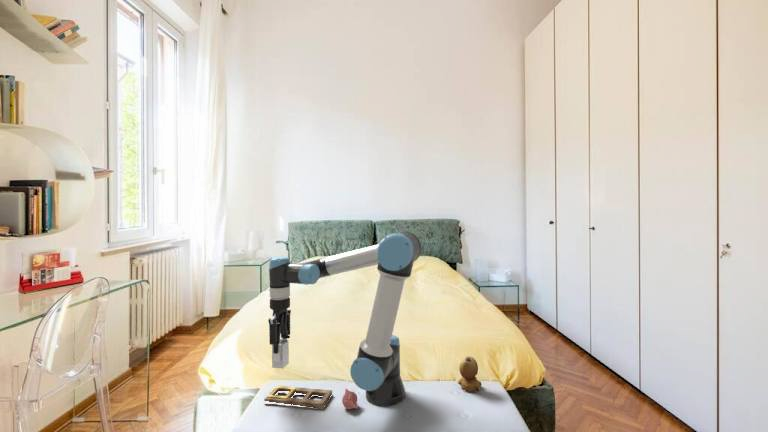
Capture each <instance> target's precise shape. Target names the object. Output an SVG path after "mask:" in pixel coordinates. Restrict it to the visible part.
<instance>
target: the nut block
mask: <svg viewBox="0 0 768 432" xmlns="http://www.w3.org/2000/svg"><path fill="white" fill-rule="evenodd" d="M279 344H281V361H280V362H277V361H273V345H271V354H272V355H271V359H272V361H271V362H272V363H271V364H272V365H271V368H274V369H283V370H284V369H285V368H286V367H287V366H288V365H289V364H290V362H289V361H290V360H289V359H290V358H289V355H290V354H289V348H290V347H289V345H290V344H289V340H288V339H287V340H280V343H279Z"/></svg>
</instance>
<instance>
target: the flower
mask: <svg viewBox="0 0 768 432" xmlns="http://www.w3.org/2000/svg"><path fill="white" fill-rule="evenodd" d="M344 392H345V393H344V395H342V396H343V397H342V399H341V401H342V402H341V403H342V405H343V407H344V408H345V409H348V410H352V409H359V406H358V395H357V393H356V392H355V391H349V389H347V388H345V391H344Z"/></svg>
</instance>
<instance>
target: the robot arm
mask: <svg viewBox="0 0 768 432" xmlns="http://www.w3.org/2000/svg"><path fill="white" fill-rule="evenodd" d="M421 254H422V243H421V240H420V239H419V236H417V235H416V234H414V233H412V232H410V231H401V232H394V233H390V234H387V236H385V237H383V239H382V240H380V242H379V243H377V244H374V245H369V246H364V247H360V248H358V249H357V248H356V249H353V250H350V251H346V252H342V253H338V254H335V255H330V256H327V257H321V258H318V259H314V260H311V261H306V262H302V263H296V262H295V263H294V262H291V259H290V258H289V257H287V256H278V257H277V256H276V257H272V258H270V259H269V268H268V272H269V273H268V274H269V308H270V310H272V317H271V318H268V320H267V322H268V327H269V329H268V330H269V333H268V334H269V345H271V346H272V345H273V361H277V362H280V361H281V344H279V343H280V340H288V339H290V338H291V312H292V310H291V309H289V308H290V307H291V298H290V296H291V284H299V285H307V286H308V285H315V284H316V283H317V282H318V281H319V279H322V278H325V277H330V276H334V275H338V274H343V273H346V272H347V273H348V272H350V271H355V270H359V269H364V268H368V267H373V266H376V265H377V267H376V270H377V272H378V273H379V277H378V278H379V279H378V284H377V288H376V292H375V296H374V301H373V305H372V310H371V313H370V319H369V323H368V327H367V331H366V335H365V336H366V337H365V339H363V340H362V341H361V342H360V343H359V346H358V347H359V348H358V352H357V357H356V358H355V359H354V360H353V361H352V363H351V366H350V370H349V371H350V377H351V379H352V381H353V382H354V384H355V385H356V386H357V387H358V388H359V389H361V390H363V391H365V398H366V400H367V401H368V402H369V403H371V404H373V405H376V406H381V407H388V406H389V407H390V406H394V405H397V404H400V403H402V401H404V400H405V397H406V388H405V386H404V385H405V384H404V382H403V380H402V377H401V357H400V356H401V349H400V347H401V344H400V338H399V337H398V336H396V335H394V334H393V333H394V327H395V324H396V319H397V315H398V310H399V306H400V302H401V298H402V293H403V289H404V285H405V281H406V280H408V279H409V278H411V275H412V270H413V266H414V262H416V261H418V259H419V258H420V257H421Z"/></svg>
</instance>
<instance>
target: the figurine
mask: <svg viewBox="0 0 768 432" xmlns="http://www.w3.org/2000/svg"><path fill="white" fill-rule="evenodd" d="M458 370H459V373H460V375H461V378H459V380H457V384H458V385H460V386H461V389H462V390H463V391H464V390H465V391H464V392H466V393H471V392H473V393H476V392H475V391H477V392H479V390H480V389H481V388H482V382H481V381H480V380H478V378H477V375H478V372H479V365H478V362H477V360H476V359H475V358H474V357H472V356H466V357H465V358H463V359H462V360H461V362H460V364H459V369H458ZM479 388H480V389H479Z"/></svg>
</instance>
